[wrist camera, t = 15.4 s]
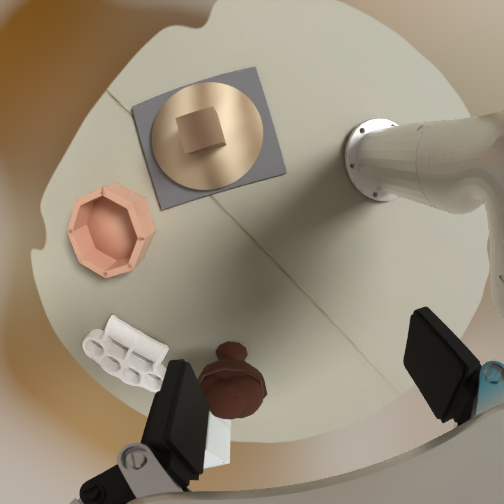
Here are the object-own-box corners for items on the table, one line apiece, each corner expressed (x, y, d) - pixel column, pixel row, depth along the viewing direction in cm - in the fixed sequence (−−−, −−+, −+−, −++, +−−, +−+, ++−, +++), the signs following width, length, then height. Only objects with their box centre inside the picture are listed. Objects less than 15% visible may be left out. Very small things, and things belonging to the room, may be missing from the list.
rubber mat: (255, 67, 31) (255, 66, 31) (286, 173, 36) (286, 173, 36) (133, 107, 32) (131, 106, 31) (162, 209, 37) (161, 210, 37)
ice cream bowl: (193, 363, 46) (181, 427, 32) (216, 319, 43) (208, 385, 29) (244, 381, 48) (247, 444, 34) (273, 341, 45) (284, 407, 31)
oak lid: (246, 71, 31) (247, 54, 24) (275, 172, 36) (282, 175, 29) (142, 105, 32) (123, 95, 25) (170, 202, 36) (156, 212, 30)
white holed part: (186, 350, 46) (158, 391, 50) (99, 301, 42) (84, 349, 46) (183, 363, 43) (154, 402, 47) (91, 310, 39) (77, 359, 43)
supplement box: (211, 401, 50) (207, 450, 38) (231, 418, 53) (231, 464, 41) (185, 410, 51) (177, 456, 40) (205, 426, 54) (202, 469, 42)
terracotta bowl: (138, 174, 35) (124, 177, 31) (164, 251, 39) (155, 263, 35) (76, 202, 36) (59, 208, 31) (102, 270, 40) (88, 283, 35)
